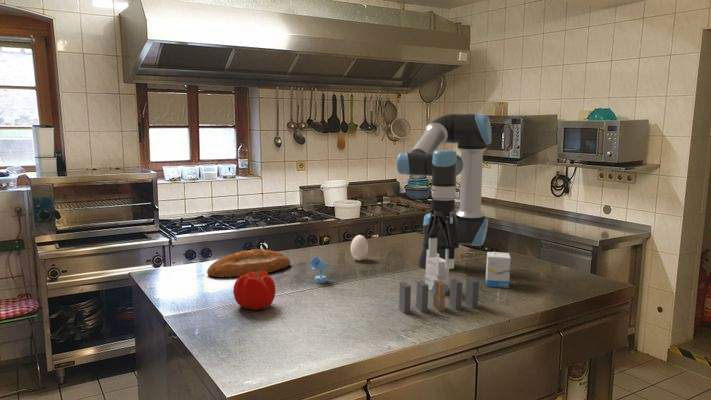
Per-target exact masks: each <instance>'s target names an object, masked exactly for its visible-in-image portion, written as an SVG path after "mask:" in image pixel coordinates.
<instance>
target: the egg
mask: <svg viewBox="0 0 711 400" xmlns="http://www.w3.org/2000/svg"><path fill="white" fill-rule="evenodd" d="M350 254H351V256H352V257H353V258H354V259H355V260H357V261H363V260H365V258H367V256H368V254H369V243H368V241H367V239H366V237H365V236H363V235H361V234H358V235H356V236H354V238H353V239H352V240H351V243H350Z"/></svg>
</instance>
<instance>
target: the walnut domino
mask: <svg viewBox="0 0 711 400" xmlns="http://www.w3.org/2000/svg"><path fill="white" fill-rule="evenodd" d="M445 291H446V284H445V283H443V282H442V281H441V280H434V292H433V291H432V292H433V295H432V296H433V298H432V299H433V300H432V307H433V308H435V309H436V310H437V311H438V312H445V310H446V309H445V308H446V293H445Z"/></svg>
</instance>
